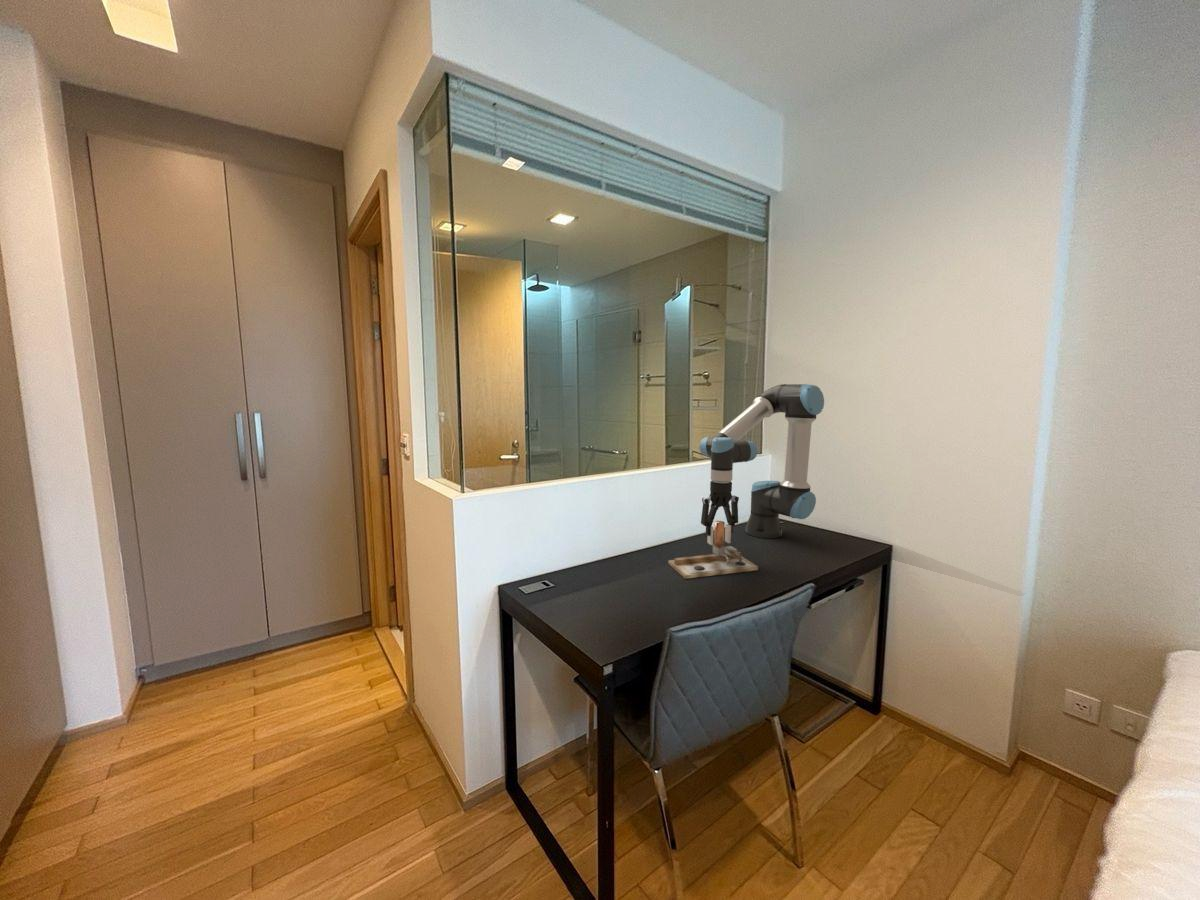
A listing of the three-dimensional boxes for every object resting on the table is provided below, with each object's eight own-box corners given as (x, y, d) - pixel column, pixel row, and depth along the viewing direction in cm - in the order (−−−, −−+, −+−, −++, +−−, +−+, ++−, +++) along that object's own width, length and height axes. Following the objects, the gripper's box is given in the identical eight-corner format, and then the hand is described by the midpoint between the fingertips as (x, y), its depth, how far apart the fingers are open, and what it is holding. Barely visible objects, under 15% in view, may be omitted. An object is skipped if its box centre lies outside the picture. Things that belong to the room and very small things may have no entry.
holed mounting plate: (736, 556, 181) (736, 543, 180) (758, 569, 167) (758, 556, 167) (668, 563, 173) (668, 550, 172) (685, 578, 160) (685, 564, 159)
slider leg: (719, 554, 176) (721, 520, 174) (732, 563, 168) (734, 527, 166) (711, 555, 175) (712, 520, 173) (724, 564, 167) (725, 528, 165)
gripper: (739, 477, 176) (736, 537, 179) (691, 480, 171) (689, 542, 174) (751, 481, 169) (748, 543, 172) (701, 484, 164) (699, 548, 167)
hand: (718, 542), depth 173 cm, fingers open, 6 cm apart
